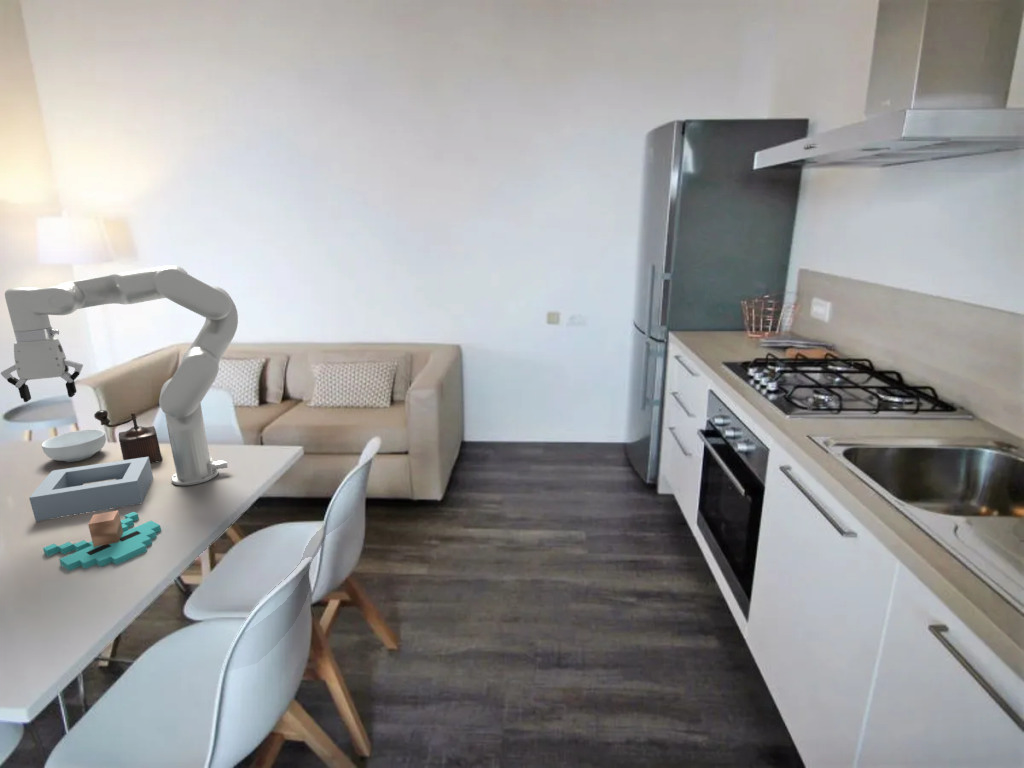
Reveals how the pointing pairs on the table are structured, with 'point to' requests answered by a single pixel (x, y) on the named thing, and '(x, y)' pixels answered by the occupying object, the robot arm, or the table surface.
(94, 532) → the terracotta cube
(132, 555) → the alien figure
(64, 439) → the cereal bowl
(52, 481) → the slot box
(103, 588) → the table surface
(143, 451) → the brown manual coffee grinder
